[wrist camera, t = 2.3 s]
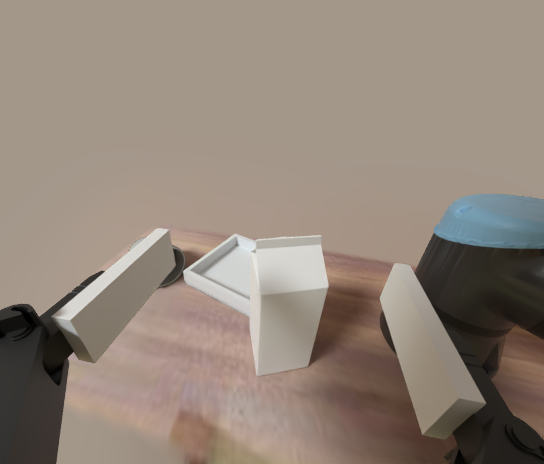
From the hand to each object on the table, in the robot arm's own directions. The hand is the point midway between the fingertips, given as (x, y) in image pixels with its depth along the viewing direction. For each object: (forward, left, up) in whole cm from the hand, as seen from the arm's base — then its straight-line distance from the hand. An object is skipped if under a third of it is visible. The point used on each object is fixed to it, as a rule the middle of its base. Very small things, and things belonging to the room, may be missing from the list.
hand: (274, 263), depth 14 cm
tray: (+16, -19, -23) cm, 34 cm away
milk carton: (+3, -9, -23) cm, 25 cm away
